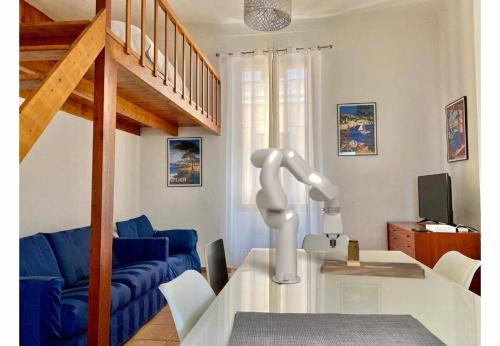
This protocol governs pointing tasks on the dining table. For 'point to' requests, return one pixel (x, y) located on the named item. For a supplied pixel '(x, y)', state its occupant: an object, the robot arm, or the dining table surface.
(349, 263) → the block
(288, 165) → the robot arm
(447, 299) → the dining table surface
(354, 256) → the condiment
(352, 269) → the box
